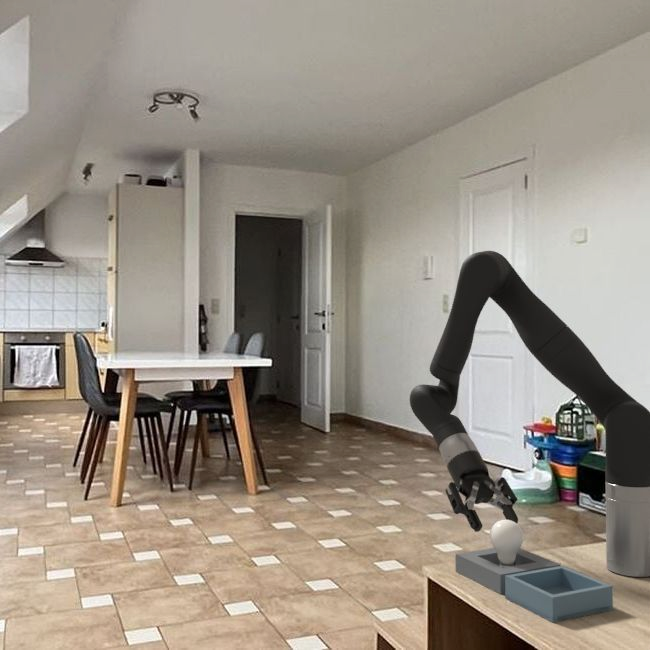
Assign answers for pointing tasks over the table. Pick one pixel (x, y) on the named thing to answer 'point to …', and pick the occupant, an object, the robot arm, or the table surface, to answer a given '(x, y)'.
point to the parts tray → (558, 593)
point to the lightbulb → (506, 541)
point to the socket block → (497, 567)
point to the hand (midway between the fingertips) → (497, 527)
